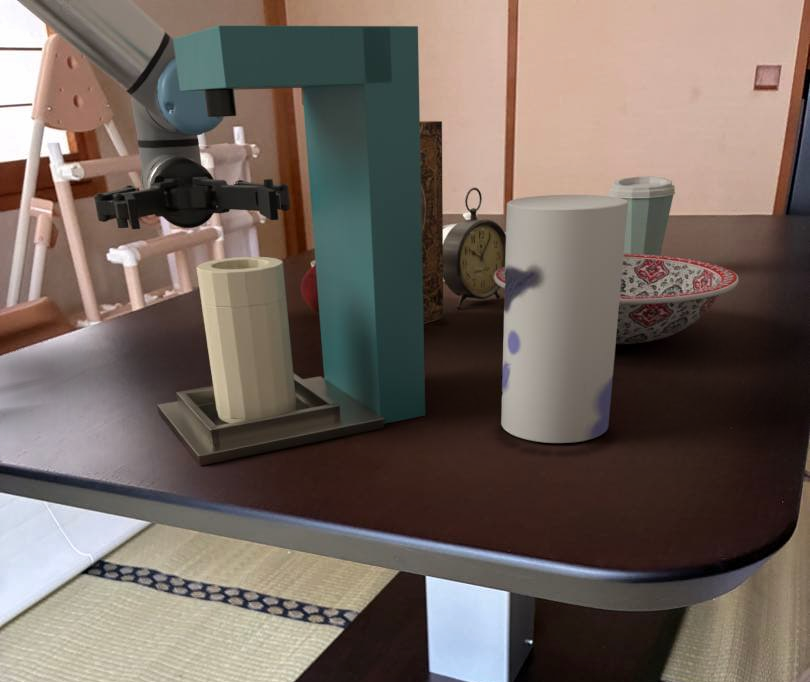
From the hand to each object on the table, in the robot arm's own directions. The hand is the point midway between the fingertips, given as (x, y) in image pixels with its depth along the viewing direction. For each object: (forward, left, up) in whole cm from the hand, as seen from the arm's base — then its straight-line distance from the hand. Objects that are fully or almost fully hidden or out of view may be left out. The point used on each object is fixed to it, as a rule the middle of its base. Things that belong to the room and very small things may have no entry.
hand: (205, 210), depth 82 cm
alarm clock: (-22, +45, -19) cm, 53 cm away
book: (-17, +29, -19) cm, 38 cm away
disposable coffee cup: (-25, +79, -19) cm, 85 cm away
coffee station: (+11, +3, -19) cm, 22 cm away
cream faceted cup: (+11, 0, -18) cm, 21 cm away
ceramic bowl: (+4, +48, -19) cm, 52 cm away
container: (+27, +24, -19) cm, 40 cm away
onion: (-28, +23, -19) cm, 41 cm away
